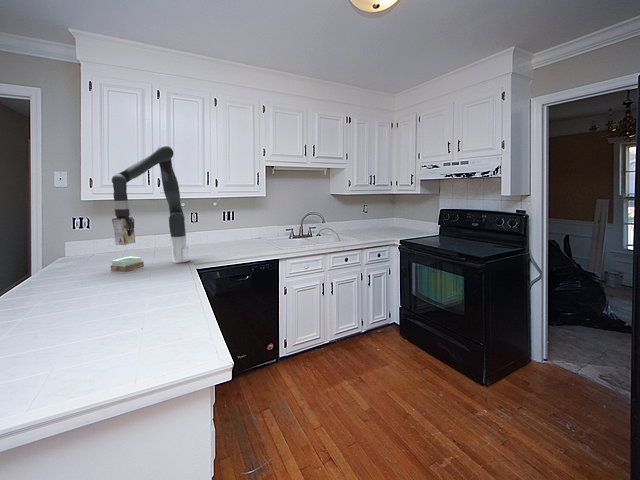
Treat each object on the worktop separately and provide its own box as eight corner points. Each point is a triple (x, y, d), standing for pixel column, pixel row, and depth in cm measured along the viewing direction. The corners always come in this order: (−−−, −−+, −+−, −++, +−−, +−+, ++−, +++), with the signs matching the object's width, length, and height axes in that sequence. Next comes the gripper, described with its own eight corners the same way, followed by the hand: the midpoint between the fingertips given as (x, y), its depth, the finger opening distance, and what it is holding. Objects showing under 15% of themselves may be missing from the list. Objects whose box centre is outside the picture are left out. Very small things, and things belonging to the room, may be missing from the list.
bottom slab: (144, 266, 204) (143, 261, 204) (127, 272, 192) (127, 266, 191) (128, 266, 207) (127, 260, 206) (111, 271, 194) (110, 265, 194)
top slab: (141, 262, 202) (141, 257, 202) (124, 266, 191) (124, 261, 191) (129, 261, 206) (128, 256, 205) (112, 265, 194) (111, 260, 194)
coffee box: (127, 242, 202) (124, 217, 199) (135, 242, 201) (133, 217, 198) (115, 245, 193) (112, 218, 190) (124, 245, 192) (121, 218, 189)
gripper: (136, 208, 195) (139, 235, 198) (117, 207, 198) (119, 234, 201) (126, 208, 188) (129, 236, 191) (106, 208, 191) (109, 236, 194)
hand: (124, 235), depth 196 cm, fingers closed on coffee box, 6 cm apart
